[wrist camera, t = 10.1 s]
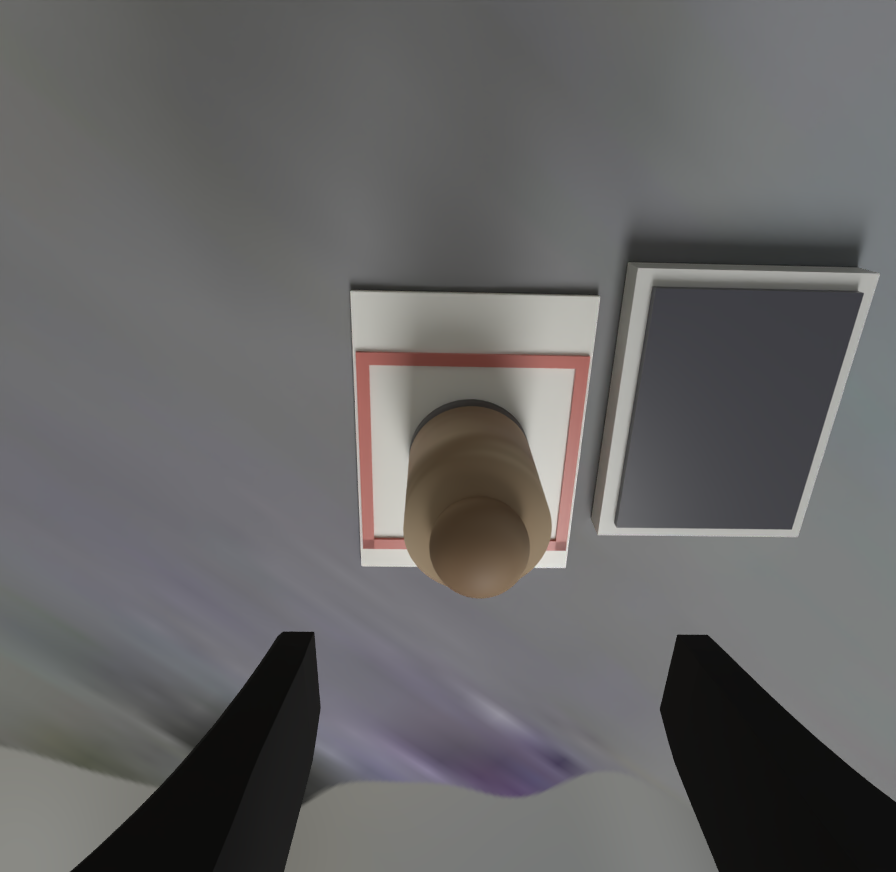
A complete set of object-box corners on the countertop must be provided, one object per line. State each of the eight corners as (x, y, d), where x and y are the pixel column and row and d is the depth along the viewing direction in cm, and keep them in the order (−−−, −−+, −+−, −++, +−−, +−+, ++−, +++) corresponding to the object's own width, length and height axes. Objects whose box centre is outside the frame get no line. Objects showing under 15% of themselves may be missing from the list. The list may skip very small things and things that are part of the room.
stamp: (528, 395, 20) (568, 501, 14) (528, 502, 22) (564, 637, 16) (404, 402, 20) (391, 512, 14) (414, 508, 22) (406, 646, 16)
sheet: (598, 295, 19) (601, 297, 19) (564, 564, 23) (566, 570, 23) (351, 290, 19) (350, 292, 18) (362, 563, 23) (361, 568, 23)
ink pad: (858, 267, 19) (887, 275, 18) (783, 521, 23) (802, 542, 21) (628, 262, 19) (640, 269, 17) (591, 519, 22) (599, 539, 21)
